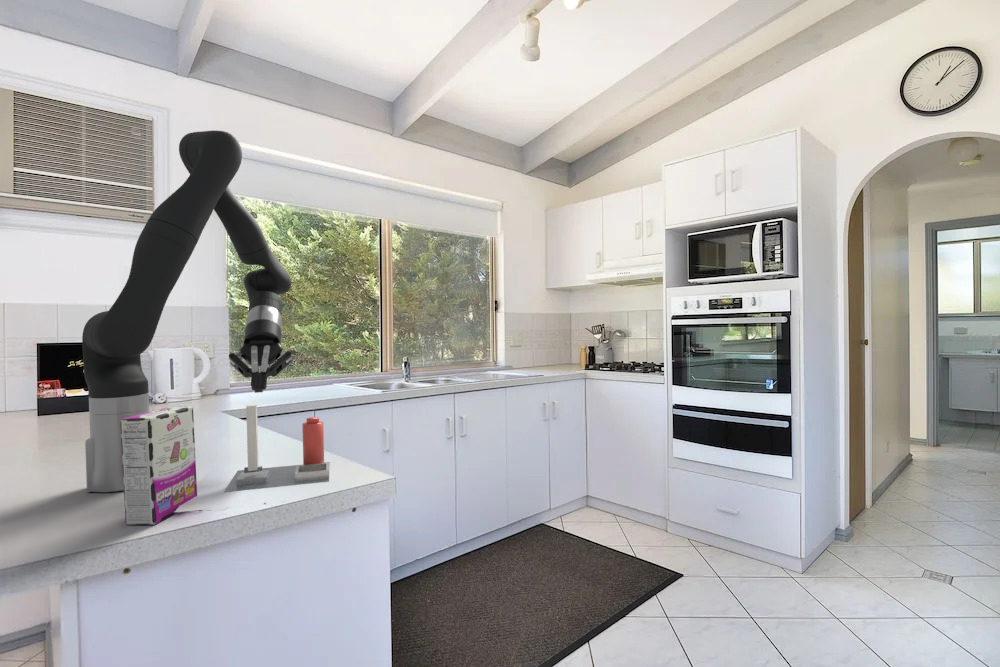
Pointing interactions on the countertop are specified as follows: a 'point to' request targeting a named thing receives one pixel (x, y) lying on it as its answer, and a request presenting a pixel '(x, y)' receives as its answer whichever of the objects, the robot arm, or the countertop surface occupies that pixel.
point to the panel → (279, 477)
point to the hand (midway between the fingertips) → (258, 390)
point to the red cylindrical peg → (313, 441)
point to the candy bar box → (158, 463)
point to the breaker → (252, 440)
